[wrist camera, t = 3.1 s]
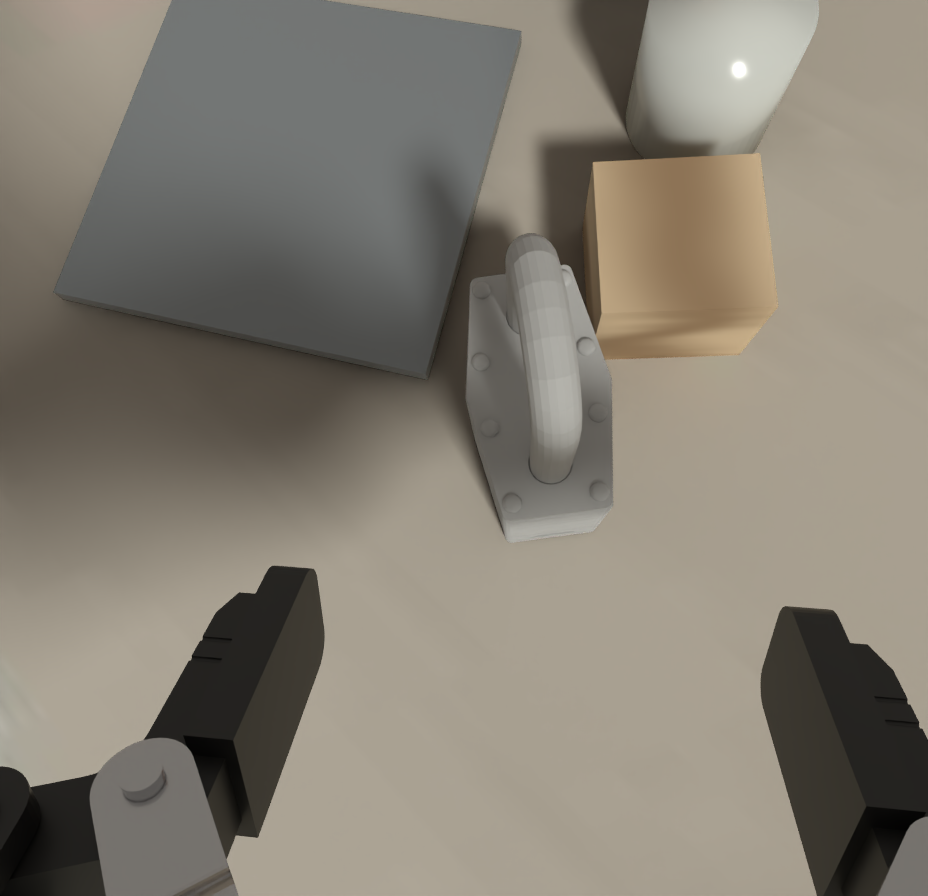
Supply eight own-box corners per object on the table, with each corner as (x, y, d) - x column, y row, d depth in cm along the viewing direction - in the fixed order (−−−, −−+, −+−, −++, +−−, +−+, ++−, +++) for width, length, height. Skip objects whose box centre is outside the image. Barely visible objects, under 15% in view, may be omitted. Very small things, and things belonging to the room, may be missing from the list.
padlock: (462, 344, 26) (427, 171, 16) (577, 327, 25) (613, 142, 16) (489, 546, 24) (469, 492, 14) (612, 530, 24) (678, 463, 14)
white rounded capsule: (613, 165, 27) (633, 63, 22) (639, 52, 28) (665, -70, 23) (752, 190, 26) (805, 90, 21) (774, 72, 27) (830, -48, 22)
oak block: (589, 361, 25) (601, 313, 21) (582, 230, 26) (592, 162, 22) (737, 356, 25) (778, 306, 21) (724, 223, 26) (759, 153, 22)
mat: (63, 299, 27) (53, 292, 26) (187, -10, 30) (180, -22, 29) (427, 380, 25) (425, 374, 25) (521, 43, 28) (521, 31, 28)
